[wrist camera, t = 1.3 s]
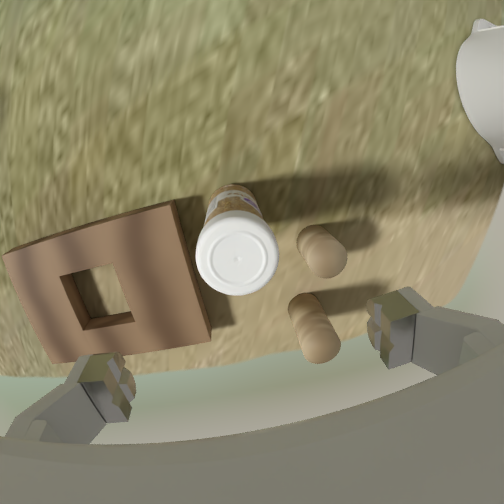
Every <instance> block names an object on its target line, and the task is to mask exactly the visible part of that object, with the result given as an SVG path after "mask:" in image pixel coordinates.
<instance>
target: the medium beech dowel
mask: <svg viewBox="0 0 504 504" xmlns="http://www.w3.org/2000/svg"><path fill="white" fill-rule="evenodd" d="M288 312H289V315H290V318H291V321H292V323H293V326H294V329H295V332H296V335H297V337H298V340H299V343H300V346H301V349H302V351H303V354H304V356H305V358H306V359H307V360H308V361H309V362H311V363H315V364H320V363H325V362H328V361H330V360H331V359H333V358H334V357H335V356H336V355H337V354H338V352H339V350H340V347H341V342H340V339H339V337H338V335H337V334H336V332H335V330H334V328H333V326H332V324H331V323H330V321H329V319H328V317H327V315H326V313H325V312H324V310H323V308H322V306H321V304H320V303H319V301H318V299H317V298H316V297H315V296H314V295H312V294H309V293H302V294H299V295H297V296H295V297H294V298H293V299H292V300H291V301H290V303H289V306H288Z"/></svg>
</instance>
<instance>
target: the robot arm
mask: <svg viewBox="0 0 504 504" xmlns="http://www.w3.org/2000/svg"><path fill="white" fill-rule="evenodd" d="M456 78H457V85H458V90H459V95H460V98H461V101H462V104H463V107H464V110H465V112H466V114H467V116H468V118H469V120H470V122H471V123H472V125H473V127H474V128H475V129H476V131H477V132H478V133H479V134H480V135H481V136H482V137H483V138H484V139H485V140H486V141H487V142H488V143H489V144H490V145H491V146H492V148H493V150H494V152H495V154H496V156H497V158H498V160H499V161H500V163H502V164H504V25H503V26H496V25H494V24H492V23H490V22H488V21H486V20H484V19H477V20H475V21H474V24H473V28H472V33H471V35H470V36H469V37H468V38H467V39H466V40H465V41H464V43H463V44H462V45H461V47H460V50H459V52H458V56H457V62H456ZM367 312H368V313H369V315H370V316H371V317H370V319H369V320H368V322H367V331H368V336H369V339H370V342H371V344H372V346H373V347H374V348H375V349H376V350H379V351H380V358H381V359H382V361H383V362H384V364H385V365H386V367H387V368H388V369H391V368H395V367H397V366H401V365H404V364H406V363H409V362H412V363H414V364H416V365H418V366H420V367H422V368H424V369H426V370H428V371H430V372H432V373H434V374H436V375H437V376H434V377H432V378H430V379H427V380H425V381H423V382H420V383H418V384H415V385H413V386H410V387H408V388H405V389H403V390H400V391H397V392H395V393H392V394H389V395H386V396H383V397H381V398H378V399H375V400H372V401H369V402H366V403H363V404H360V405H357V406H353V407H350V408H347V409H343V410H340V411H336V412H333V413H329V414H326V415H322V416H318V417H315V418H311V419H307V420H303V421H298V422H294V423H290V424H285V425H281V426H276V427H271V428H267V429H262V430H256V431H251V432H245V433H240V434H233V435H227V436H220V437H212V438H205V439H196V440H187V441H176V442H164V443H149V444H148V443H147V444H122V445H121V444H120V445H119V444H117V445H116V444H115V445H100V444H97V445H96V444H90V443H91V441H92V440H93V439H94V438H95V437H96V436H97V435H98V433H99V432H100V431H101V430H102V429H103V428H104V426H105V425H106V423H116V422H128V420H129V416H130V413H131V409H132V407H131V405H130V402H131V401H132V400H133V399H134V398H135V394H136V385H135V381H134V378H133V375H132V373H131V372H130V371H129V370H127V369H126V368H125V367H124V365H125V362H126V361H125V360H124V358H123V356H122V354H121V353H119V352H109V353H100V354H90V355H82V356H80V357H79V358H78V359H77V361H76V363H75V365H74V366H73V368H72V370H71V372H70V374H69V376H68V377H67V379H66V381H65V383H64V384H60V385H59V386H57V387H56V388H55V389H53V390H52V391H51V392H49V393H48V394H46V395H45V396H44V397H42V398H41V399H40V400H38V401H37V402H36V403H34V404H33V405H32V406H30V407H29V408H27V409H26V410H25V411H23V412H22V413H20V414H19V415H18V416H17V417H15V419H14V421H13V422H12V424H11V426H10V428H9V430H8V432H7V433H6V435H5V437H1V436H0V504H504V324H502V323H501V322H500V321H499V320H497V319H492V318H488V317H483V316H479V315H474V314H470V313H465V312H461V311H457V310H452V309H448V308H443V307H439V306H437V307H433V306H432V305H431V304H429V303H428V302H427V301H426V300H425V299H424V298H423V297H422V296H420V295H419V294H418V293H417V292H416V291H415V290H413V289H412V288H411V287H408V286H407V287H404V288H402V289H399V290H396V291H393V292H390V293H387V294H384V295H381V296H377V297H374V298H371V299H368V300H367Z"/></svg>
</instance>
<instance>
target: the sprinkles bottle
mask: <svg viewBox="0 0 504 504" xmlns="http://www.w3.org/2000/svg"><path fill="white" fill-rule="evenodd" d="M278 262H279V248H278V244H277V241H276V239H275V236H274V234H273V232H272V230H271V229H270V227H269V226H268V224H267V223H266V222H265V221H264V220H263V217H262V214H261V212H260V210H259V207H258V205H257V202H256V199H255V197H254V196H253V194H252V193H251V192H250V191H249V190H248V189H247V188H245V187H243V186H240V185H234V184H229V185H226V186H223V187H221V188H219V189H218V190H216V191H215V193H214V194H213V195H212V196H211V199H210V201H209V204H208V210H207V214H206V219H205V223H204V227H203V229H202V231H201V233H200V235H199V238H198V242H197V246H196V264H197V268H198V271H199V273H200V275H201V276H202V278H203V279H204V281H205V282H206V283H207V284H208V285H210V286H211V287H212V288H213V289H215V290H217V291H219V292H221V293H224V294H228V295H246V294H250V293H253V292H255V291H257V290H259V289H261V288H262V287H263V286H265V285H266V284H267V283H268V282H269V281H270V280H271V278H272V277H273V275H274V274H275V271H276V269H277V266H278Z"/></svg>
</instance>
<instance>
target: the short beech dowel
mask: <svg viewBox="0 0 504 504" xmlns="http://www.w3.org/2000/svg"><path fill="white" fill-rule="evenodd" d="M297 248H298V250H299V252H300V253H301V255H302V257H303V258H304V260H305V261H306V263H307V264H308V266H309V267H310V269H311V271H312V272H313V273H314V274H315V275H316V276H318V277H320V278H332V277H334V276H336V275H338V274H339V273H340V272H341V271H342V270H343V269H344V267H345V265H346V263H347V252H346V249H345V248H344V246H343V245H342V244H341V243H340V242H339V241H338V240H336V239H335V238H334V237H333V236H332V235H331V234H330V233H329V232H328V231H327V230H326V229H325V228H323V227H322V226H319V225H310V226H307V227H306V228H304V229H303V230H302V231H301V232H300V233H299V235H298V238H297Z"/></svg>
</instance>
